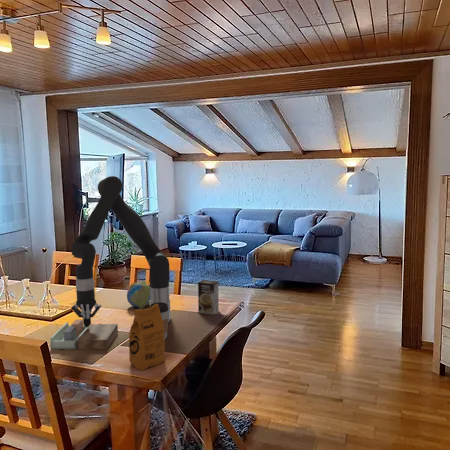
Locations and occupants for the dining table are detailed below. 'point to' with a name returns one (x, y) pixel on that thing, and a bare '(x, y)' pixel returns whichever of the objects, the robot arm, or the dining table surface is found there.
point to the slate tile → (70, 334)
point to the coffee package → (147, 338)
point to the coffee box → (208, 297)
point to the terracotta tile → (78, 326)
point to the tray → (58, 339)
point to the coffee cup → (163, 315)
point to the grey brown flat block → (98, 336)
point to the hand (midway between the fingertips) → (87, 326)
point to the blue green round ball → (139, 295)
